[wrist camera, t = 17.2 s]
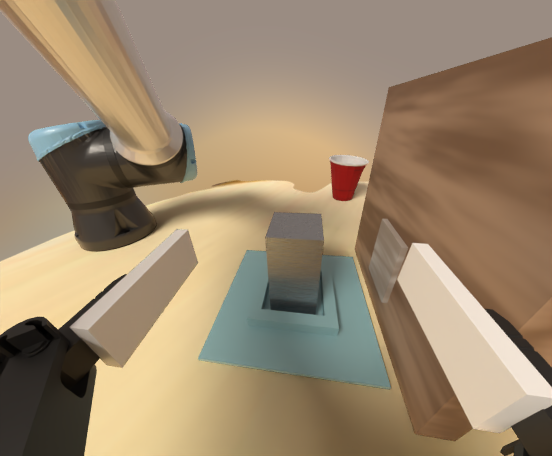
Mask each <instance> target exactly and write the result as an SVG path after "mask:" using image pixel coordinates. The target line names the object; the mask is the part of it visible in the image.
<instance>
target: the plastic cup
mask: <svg viewBox="0 0 552 456" xmlns="http://www.w3.org/2000/svg"><path fill="white" fill-rule="evenodd" d="M329 159H330V162H331V177H332V194H333V198H334V199H336V200H340V201H348V200H351V199H352V197H353V194H354V191H355V189H356V187H357V184H358V182H359V179H360V176H361V174H362V172H363V169H364V168H365V166H366V165H367V164H368V162H369V161H368V160H366V159H364V158H360V157H357V156H350V155H334V156H331V157H329Z"/></svg>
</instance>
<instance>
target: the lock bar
mask: <svg viewBox="0 0 552 456" xmlns="http://www.w3.org/2000/svg"><path fill="white" fill-rule="evenodd" d="M265 239H266V253H267V267H268V280H269V294H270V308H271V310H276V311H285V312H294V313H303V314H313V315H316V307H317V298H318V289H319V280H320V271H321V262H322V253H323V244H324V237H323V228H322V218H321V214H305V213H278V212H274V215H273V217H272V220H271V223H270V226H269V229H268V231H267V234H266V237H265Z"/></svg>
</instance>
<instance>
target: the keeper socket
mask: <svg viewBox="0 0 552 456" xmlns="http://www.w3.org/2000/svg"><path fill="white" fill-rule="evenodd" d="M198 359H199V360H201V361H207V362H214V363H221V364H227V365H234V366H240V367H247V368H253V369H260V370H266V371H273V372H279V373H286V374H292V375H299V376H305V377H312V378H318V379H325V380H331V381H338V382H344V383H351V384H357V385H364V386H371V387H377V388H384V389H390V388H391V386H390V383H389V379H388V376H387V372H386V369H385V366H384V362H383V359H382V355H381V352H380V349H379V345H378V342H377V339H376V335H375V332H374V328H373V325H372V322H371V318H370V315H369V311H368V308H367V305H366V301H365V298H364V294H363V291H362V288H361V284H360V281H359V277H358V274H357V271H356V267H355V264H354V260H353V257H346V256H330V255H322V262H321V271H320V280H319V289H318V298H317V307H316V315H313V314H303V313H294V312H285V311H276V310H271V308H270V294H269V280H268V267H267V253H266V251H253V250H247V251H246V254H245V256H244V258H243V260H242V262H241V265H240V267H239V269H238V271H237V273H236V276H235V278H234V280H233V282H232V284H231V287H230V289H229V291H228V293H227V296H226V298H225V300H224V302H223V304H222V307H221V309H220V311H219V313H218V315H217V318H216V320H215V322H214V324H213V326H212V329H211V331H210V333H209V335H208V338H207V340H206V342H205V344H204V346H203V349H202V351H201V353H200V355H199V357H198Z"/></svg>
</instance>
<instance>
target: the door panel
mask: <svg viewBox="0 0 552 456" xmlns="http://www.w3.org/2000/svg"><path fill="white" fill-rule="evenodd" d="M412 243H422V244H428V245H429V246H430V247H431V248H432V249H433V250H434V252H435V253H436V254H437V255H438V256H439V257H440V258H441V260H442V261H443V262H444V263H445V264H446V265H447V267H448V268H449V269H450V270H451V271H452V272H453V274H454V275H455V276H456V277H457V278H458V279H459V280H460V282H461V283H462V284H463V285H464V286H465V287H466V289H467V290H468V291H469V292H470V293H471V294H472V295H473V297H474V298H475V299H476V300H477V301H478V302H479V304H480V305H481V306H482V307H483V308H484V309H493V310H494V311H495V312H497V313H498V314H500V315H501V316H502V317H504V318H505V319H506V320H508V321H509V322H510V323H511V324H512V325H513V326H514V327H515V328H516V329H517V330H518V331H519V333H520V334H521V335H522V336H523V339H526V340H527V341H528V342H529V343H530V344H531V345H532V346H533V348H534V350H535V351H536V352H538V353H539V354H540V355H541V356H542V357H543V358H544V359H545V360H546V362H547V363H548V364H549V365H550V366H551V367H552V38H548V39H545V40H542V41H539V42H535V43H532V44H529V45H526V46H522V47H519V48H516V49H513V50H509V51H506V52H503V53H500V54H496V55H493V56H490V57H486V58H483V59H480V60H477V61H474V62H470V63H467V64H464V65H461V66H457V67H454V68H451V69H447V70H444V71H441V72H438V73H434V74H431V75H428V76H425V77H421V78H418V79H415V80H412V81H408V82H405V83H402V84H399V85H395V86H392V87H389V90H388V94H387V99H386V104H385V108H384V113H383V118H382V123H381V127H380V132H379V137H378V141H377V146H376V151H375V156H374V160H373V165H372V170H371V174H370V179H369V184H368V188H367V193H366V198H365V203H364V207H363V212H362V217H361V222H360V226H359V231H358V236H357V240H356V245H355V252H356V255H357V258H358V261H359V264H360V267H361V270H362V273H363V276H364V279H365V282H366V285H367V288H368V291H369V295H370V298H371V301H372V304H373V307H374V310H375V313H376V316H377V319H378V322H379V325H380V328H381V331H382V334H383V337H384V340H385V343H386V347H387V350H388V353H389V356H390V359H391V362H392V365H393V368H394V371H395V374H396V377H397V380H398V383H399V386H400V389H401V392H402V395H403V398H404V402H405V405H406V408H407V411H408V414H409V417H410V420H411V423H412V426H413V429H414V432H415V434H418V435H423V436H429V437H435V438H440V439H446V440H451V441H456V440H457V439H459V438H460V437H462V436H463V435H464V434H466V433H467V432H469V431H470V430H471V429H473V427H472V426H471V424H470V422H469V420H468V418H467V416H466V414H465V412H464V410H463V408H462V406H461V404H460V402H459V400H458V398H457V396H456V394H455V392H454V390H453V388H452V386H451V384H450V382H449V380H448V378H447V376H446V374H445V372H444V370H443V368H442V366H441V364H440V363H439V361H438V359H437V357H436V355H435V353H434V351H433V349H432V347H431V345H430V343H429V341H428V339H427V337H426V335H425V333H424V331H423V329H422V327H421V325H420V323H419V321H418V319H417V317H416V315H415V313H414V311H413V309H412V307H411V305H410V303H409V301H408V299H407V298H406V296H405V294H404V292H403V290H402V288H401V286H400V284H399V282H398V280H397V279H398V276H399V274H400V272H401V269H402V267H403V264H404V262H405V260H406V257H407V255H408V252H409V250H410V248H411V245H412Z"/></svg>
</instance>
